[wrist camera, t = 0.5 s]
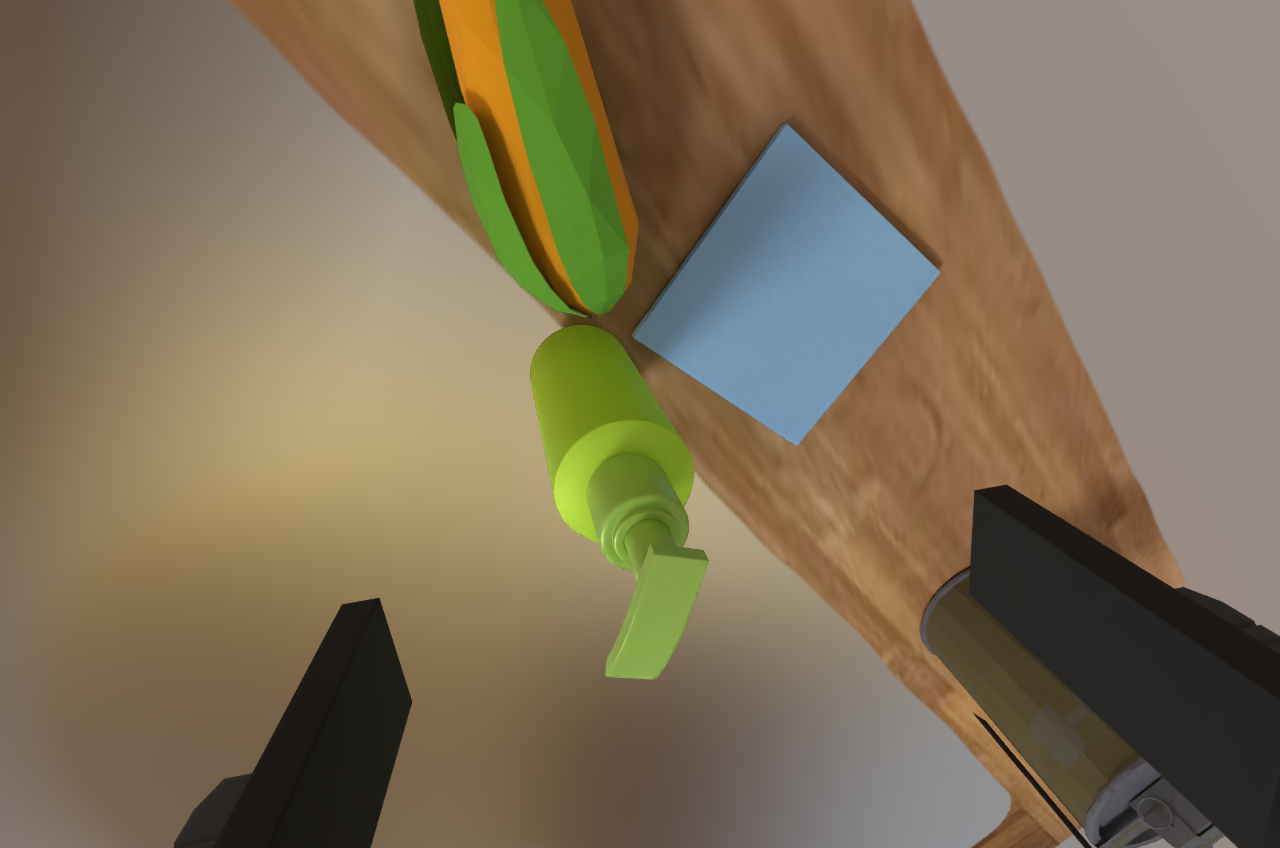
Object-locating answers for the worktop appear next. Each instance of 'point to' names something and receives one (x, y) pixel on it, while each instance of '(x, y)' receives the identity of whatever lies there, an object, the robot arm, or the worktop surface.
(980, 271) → the worktop surface
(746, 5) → the worktop surface
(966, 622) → the canister
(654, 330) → the blue mat
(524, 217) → the corn
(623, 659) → the soap dispenser
